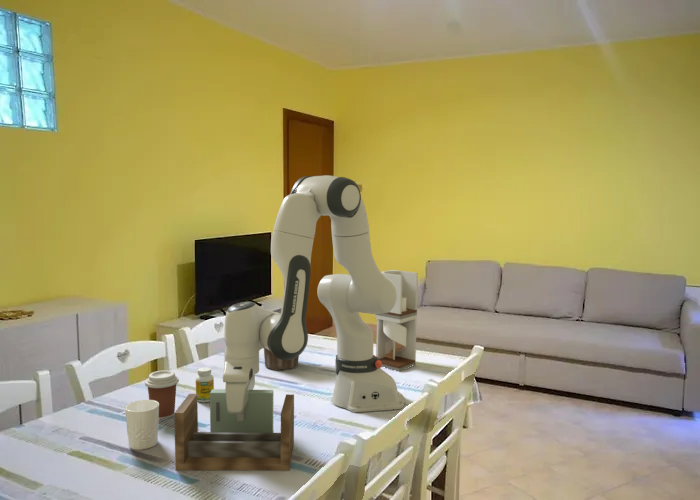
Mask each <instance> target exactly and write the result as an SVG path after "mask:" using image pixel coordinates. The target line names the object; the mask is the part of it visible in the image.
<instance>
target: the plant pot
mask: <svg viewBox="0 0 700 500" xmlns="http://www.w3.org/2000/svg"><path fill="white" fill-rule="evenodd" d="M263 356H264V357H263V358H264V366H265V368H267V369H269V370H273V371H279V370H283V371H288V370H294V369H296V368H297V367H298V365H299V359H300V355H299V356H298V357H296V358H294V359H291V360H281V359H278V358H277V357H276V356H275V355H274V354H273V353H272V352H271V351H269V350H268V349H267V348H263Z"/></svg>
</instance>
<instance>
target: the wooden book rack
mask: <svg viewBox="0 0 700 500" xmlns="http://www.w3.org/2000/svg"><path fill="white" fill-rule="evenodd" d="M198 413H199V411H198V401H197V394H196V393H189V394H187V396H186V397H185V399H184V400H183V401H182V402H181V404H180V405H179V407H177V409H175V413H174V416H173V417H174V454H175V455H174V456H175V458H174V459H175V460H174V463H175V467H174V468H175V471H283V472H284V471H285V472H286V471H287V472H288V471H290V469H291V463H292V459H293V454H294V447H295V394H285V398H284V400H283V405H282V408H281V410H280V432H273V433H242V432H210V431H208V432H207V431H205V432H204V431H203V432H202V431H200V432H199V420H198V419H199V418H198Z"/></svg>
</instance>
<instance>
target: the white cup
mask: <svg viewBox="0 0 700 500" xmlns="http://www.w3.org/2000/svg"><path fill="white" fill-rule="evenodd" d="M125 418H126V419H125V420H126V431H127V437H128V438H127V439H128V446H129V448H130V449H132V450H138V451H140V450H146V449H150V448H153V447H154V446H156V445H157V443H158V442H159V441H158V440H159V439H158V438H159V437H158V436H159V433H158V432H159V423H160V422H159V421H160V420H159V403H158V402H157V401H154V400H149V399H141V400H136V401H133V402H130V403H128V404H127V405H126V406H125Z"/></svg>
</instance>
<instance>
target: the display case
mask: <svg viewBox="0 0 700 500" xmlns="http://www.w3.org/2000/svg"><path fill="white" fill-rule="evenodd" d="M380 272H381V273H382V274H383V275H384V276H385V277H386V278H387V279H388V280H389V281H390V282H392V284H393V285H394V287H395V289H396V293H397V299H396V303H395V305H394V307H393V308H392V310H391V311H389V312H388V313H382V314H374V319H376V343H375V346H376V349H375V353H376V354H375V356H376V355H377V356H378V358H379V359H380V361H381V362H382V367H381V368H383V367H385V368H384V369H387V368H388V370H391V369H392V370H391V371H394V370H396V371H395V372H398V371H399V372H401V371H400V370H402V371H404V370H406V369H405V368H407V369H409V368H411V367H410V366H412V365H414V366H416V358H417V356H416V355H417V354H416V353H417V351H416V350H417V324H418V322H417V321H418V317H417V316H418V287H419V286H418V282H419V279H418V278H419V273H418V272H413V271H404V270H397V269H390V270H384V271H383V270H382V271H380ZM408 367H409V368H408ZM412 367H413V366H412ZM403 369H404V370H403Z"/></svg>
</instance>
